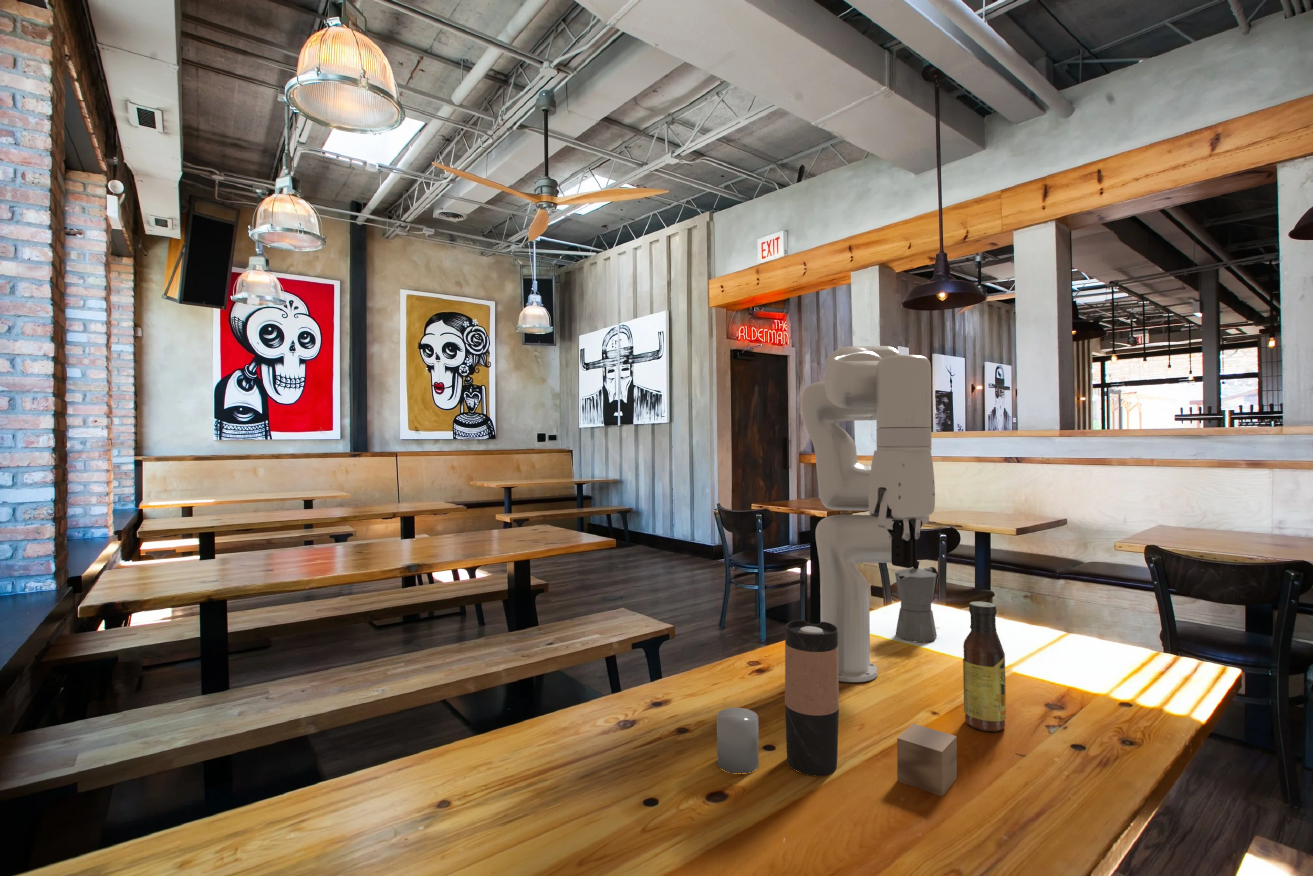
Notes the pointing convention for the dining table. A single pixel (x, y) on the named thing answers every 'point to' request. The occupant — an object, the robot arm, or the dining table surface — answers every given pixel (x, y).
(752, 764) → the grey rounded cylinder
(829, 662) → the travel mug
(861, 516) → the robot arm
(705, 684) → the dining table surface
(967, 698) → the sauce bottle
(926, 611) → the coffeepot
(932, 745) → the grey cube
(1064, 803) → the dining table surface
